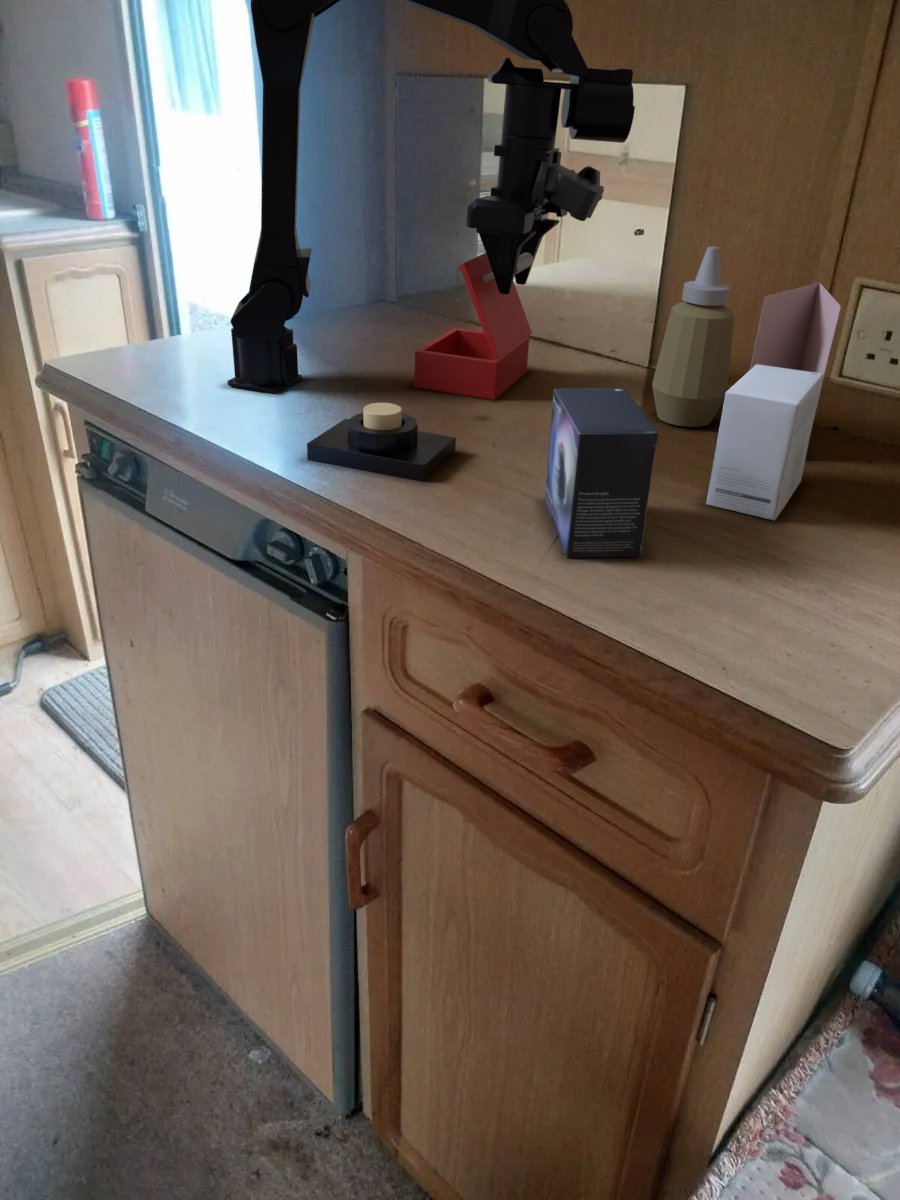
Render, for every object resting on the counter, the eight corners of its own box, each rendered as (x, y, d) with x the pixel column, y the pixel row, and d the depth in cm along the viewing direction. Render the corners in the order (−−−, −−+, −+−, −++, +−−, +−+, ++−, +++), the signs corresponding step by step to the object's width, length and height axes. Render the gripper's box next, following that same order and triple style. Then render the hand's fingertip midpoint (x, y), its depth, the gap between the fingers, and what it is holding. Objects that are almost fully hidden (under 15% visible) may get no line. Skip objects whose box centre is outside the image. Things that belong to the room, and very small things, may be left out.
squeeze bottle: (727, 415, 102) (760, 246, 93) (713, 437, 96) (748, 257, 87) (656, 403, 105) (682, 238, 96) (638, 424, 99) (664, 248, 90)
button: (357, 429, 85) (356, 411, 84) (373, 417, 88) (373, 400, 87) (392, 435, 84) (392, 417, 83) (407, 423, 87) (407, 405, 86)
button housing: (307, 460, 86) (305, 425, 85) (345, 434, 93) (344, 400, 91) (424, 482, 83) (425, 446, 81) (455, 453, 89) (457, 419, 88)
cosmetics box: (733, 468, 89) (755, 360, 83) (800, 483, 86) (828, 373, 81) (701, 504, 81) (723, 388, 76) (774, 522, 78) (803, 403, 73)
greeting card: (779, 420, 102) (811, 281, 94) (844, 438, 97) (882, 293, 90) (726, 444, 94) (756, 295, 87) (793, 464, 90) (831, 309, 82)
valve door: (458, 265, 99) (499, 247, 96) (495, 248, 109) (534, 231, 106) (494, 360, 102) (535, 345, 100) (527, 335, 112) (565, 321, 110)
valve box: (414, 387, 107) (414, 351, 105) (452, 361, 117) (453, 327, 115) (494, 400, 104) (496, 362, 102) (526, 372, 114) (529, 337, 112)
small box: (538, 502, 80) (549, 385, 75) (611, 502, 80) (627, 385, 75) (561, 558, 71) (575, 429, 65) (643, 558, 71) (664, 430, 66)
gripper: (581, 148, 86) (559, 316, 94) (621, 140, 101) (600, 285, 109) (471, 136, 89) (458, 300, 97) (526, 130, 104) (511, 271, 112)
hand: (512, 289), depth 104 cm, fingers closed on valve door, 6 cm apart
